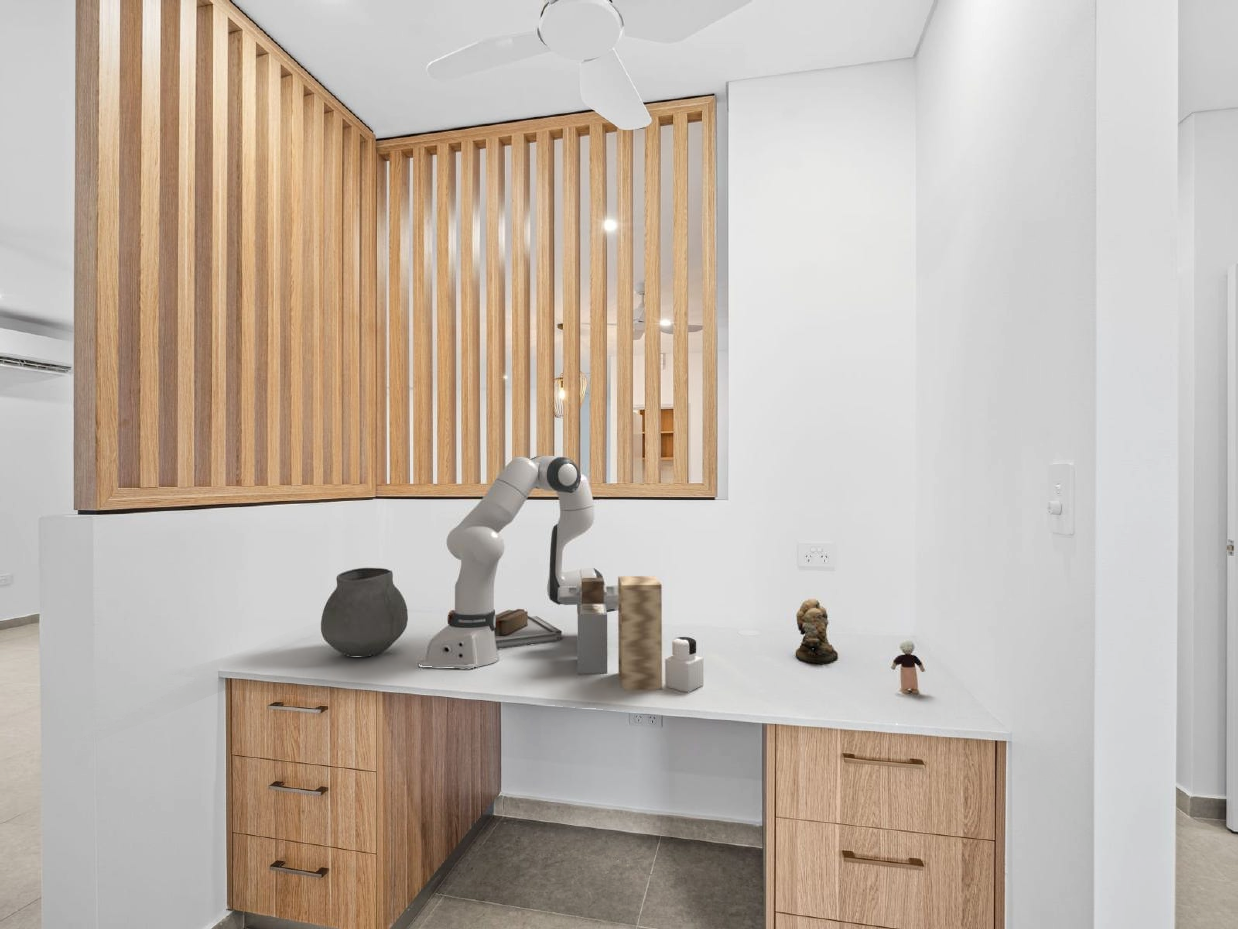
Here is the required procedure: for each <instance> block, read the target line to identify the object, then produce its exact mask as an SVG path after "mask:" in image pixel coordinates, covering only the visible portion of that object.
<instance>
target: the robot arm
mask: <svg viewBox="0 0 1238 929" xmlns="http://www.w3.org/2000/svg"><path fill="white" fill-rule="evenodd" d="M534 489H536V490H537V489H538V490H545V491H547V492H555V493H556V495H557V498H558V502H559V505H558V506H559V519H558V521H557V523H556V524H555V525H553V527H552V530H551V538H550V550H549V572H548V580H547V585H546V591H547V596H548V598H549V600H550V601H551V602H552V603H554V604H556V605H558V606H560V605H564V606H575V605H576V613H577V615H578V605H580V604H582V584H581V578H603V581H604V603H597V604H605V606H606V611H607V613H610V612H614V611H615V612H616V611H617V612H618V584H617V585H605V580H604V577H603V574H602V573H601V572H600V571H599V570H597V569H596V568H594V567H592V568H584V569H580V570H579V569H578V570H573V571H567V572H566V571H563V568H562V567H563V551H564V547H565V546H566V545H567V544H568V543H569V542H571V541H572V540H574V539H576V538H577V537H580V536H581V535H583V534H585V533H586V532H587V531H588V530H589V529H590V528H592V526H593V524H594V522H595V505H594V498H593V494H592V489H591V486H590V482H589V479H588V478H587V477H586V475H585V474H582V473H581V472H580V470H579V467H578V466H577V464H576V462H574V461H573V460H572V459H570V458H568V457H564V456H556V455H538V456H533V457H532V458H528V457H525V456H516V457H514V458H512V460H511V461H510V462H508V464H507V465H505V467H504V468H503V469H502V470H501V472H500V473H499V474H498V475H497V477H496V478H495V480H494V481H493V483H492V484H491V486H490V487H489V488H488V490H487V491H486V493H485V494H484V496H483V497H482V499H480V501H479V502H478V503H477V505H476V506H475V507H474V508H473V509H472V510H471V511H470V512H469V513H468V514H467V515H466V516H465V517H464V519H462V520H461V522H459V523H458V525H457V526H455V527H454V528H452V529H451V530H450V531H449V533H448V534H447V537H446V546H447V549H448V551H449V552H450V554H451V555H452V556H453V557H454V558H455V559H457V560H459V561H460V570H459V575H458V577H457V580H456V581H455V584H454V609H451V610H450V611H449V612H448V614H447V624H448V625H446V626H445V627H444V628H442V629H441V630H439V632H438V633H436V634H435V635H434V636H432V638H431V639H430V641H428V642H429V643H428V644H427V649H426V653H425V654H423V655H422V656H421V657H419V659H418V664H420V665H422V666H432V667H454V668H467V669H466V670H472V669H471V668H473V669H475V668H474V667H476V668H479V667H482V666H488V665H491V664H493V663H496V662H498V661H499V660H500V655H499V652H498V649H497V647H496V641H495V632H494V630H495V626H496V615H497V614H496V610H495V609H494V608H495V606H494V605H495V603H494V602H495V599H494V598H495V597H494V596H495V579H496V574H497V569H498V565H499V561H500V559H501V558H502V556H503V555H504V552H505V542H504V539H503V537H502V536H501V535H500V532H501V531H502V530H503V529H504V528H505V527H506V526H507V525H509V524H511V523H512V522H513V521H514V519H515V518H516V516H517V515H518V513H519V511H520V510H521V508H522V507H523V505H524V504H525V502H526V501H527V499H528V497H529V496H530V494H531V492H532V491H533V490H534Z"/></svg>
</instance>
